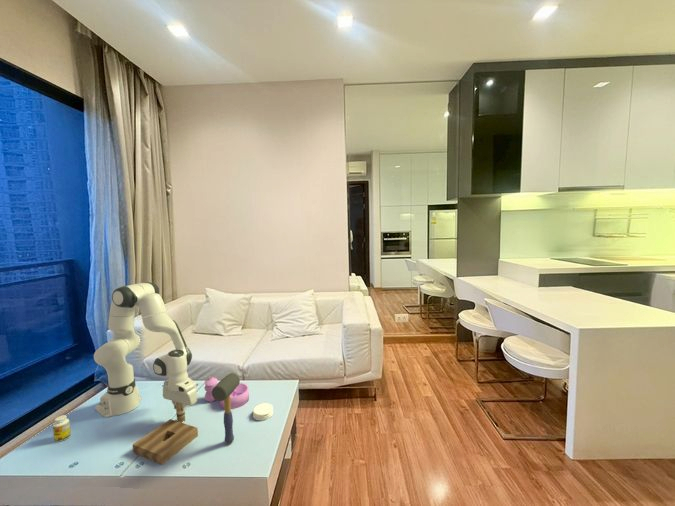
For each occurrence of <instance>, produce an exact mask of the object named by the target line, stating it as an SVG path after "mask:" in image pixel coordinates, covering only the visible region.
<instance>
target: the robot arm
mask: <svg viewBox="0 0 675 506" xmlns="http://www.w3.org/2000/svg"><path fill="white" fill-rule="evenodd" d="M136 308H138V309H139V312H140V315H141V320H142V321H141V322H142V324H143V326H144V328H145V329H146V330H148V331H149V332H152V333H153V332H154V333H165V334H167V335H169V336H170V338H171V340H172V343H173V345H174V349H172V350H170V351H169V352H168V353H165V354H163V355H160V356H158V357H157V358H155V359H154V361H153V363H152V369H153V373H154V374H155V375H157V376H160V377H167V379H166V380H164V381H163V386H162V397H163V399H165V400H168V401H171V403H172V405H173V409H174V410H176V401H177V402H178V403H182V405H183V407H182V408H181V411H185V412H186V411H187V406H189V407H192V406H193V405H195V404H196V403H197V402H198V392H197V389H196V387H197V382H195V381H194V380H193V379H191V377H189V373H188V370H187V369H188V367H189V365H190V364H191V361H192V359H193V354H192V352H191V351H192V350H190V348H189V346H188V345H187V343H186V341H185V338H184V336H183V334H182V332H181V329H180V327H179V325H178V323H177V322H176V321H175V320H174V319H172V318H170V316H169V314H168V312H167V307H166V305H165V302H164V300H163V298H162V296H161V294H160V288H159V286H158V285H157V284H156V283H154V282H149V281H148V282H139V283H133V284H130V285H129V284H127V285H123V286H120V287H117V288H116V289H114V290H113V292H112V295H111V304H110V309H109V313H108V315H109V316H108V323H107V324H108V326H107V328H108V330H109V331H110V332H112V333H113V338H112V340H110V341H108V342H106V343H103V344H102V345H101V346H99V347H98V349H96V350H95V352H94V354H93V359H94V362H95V363H96V364H97V365H99V366H102V367H103V368H104V369H105V371H106V375H107V381H108V384H107V385H106V388H107V391H106V392H105V393H104V394H103V395H101V396H100V398H99V403H98V404H97V405H96V406H95V407H94V410H95V411H97V413H99V415H101V416H102V417H103V418H111V417H113V416H114V417H115V416H118V415H119V416H120V415H123V414H127V413H128V412H131V411H133V410H135V409H136V408H137V407H139V405H140V401H141V400H142V396H140V392H139V388H138V387H139V386H138V385H136V382H137V381H136V378H134V377H135V376H134V375H135V374H134V366H133V365H132V364H131V363H128V362H127V359H126V356H127V355H129V354H131V353H133V352H134V351H135V350H136V349H137V348H138V347H139V346H140V345H141V337H140V336H139V334H137V333H136V332H135V316H136Z"/></svg>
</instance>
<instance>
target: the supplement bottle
mask: <svg viewBox="0 0 675 506" xmlns="http://www.w3.org/2000/svg"><path fill="white" fill-rule="evenodd" d="M52 430H53V431H52V432H53V439H54V442H56V443H58V442H62V441H65V440H67V439H69V438H70V437H71V434H72V433H71V425H70V419H69V418H67V415H66V414H62V415H59V416H56V418H54V423H53V424H52Z"/></svg>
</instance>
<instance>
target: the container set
mask: <svg viewBox="0 0 675 506" xmlns="http://www.w3.org/2000/svg"><path fill="white" fill-rule="evenodd" d="M218 383H219V380H218V378H217V377H214V376H213V375H211V376H209V377H208V378H207V379H206V380H205V381H204V391H205V394H204V398H205V401H207V402H209V403H211V402H215V401H216V400H215V399H214V398H213V396H212V390H213V388H214V387H215V386H216V385H217V384H218ZM249 400H250V391H249V385H248V384H246V383H243V382H240V383H239V385H238V386H237V388H236V389H235V390H234V391H233V392H232V393H231V394H230V405H231V410H234V409H238V408H240V407H243V406H245V405H246V404H247V403H248V402H249ZM219 405H220V407H221V408H222V409H224V410H225V407H224V400H223V401H219Z"/></svg>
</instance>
